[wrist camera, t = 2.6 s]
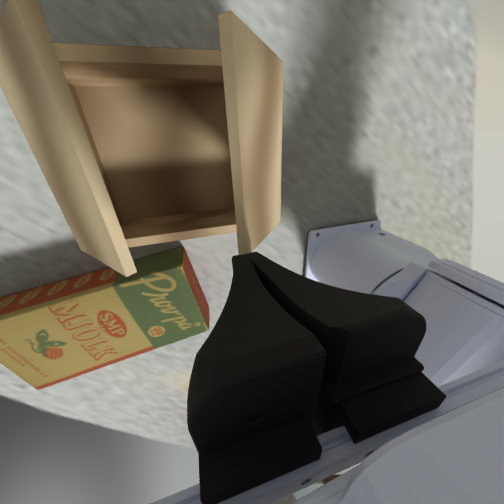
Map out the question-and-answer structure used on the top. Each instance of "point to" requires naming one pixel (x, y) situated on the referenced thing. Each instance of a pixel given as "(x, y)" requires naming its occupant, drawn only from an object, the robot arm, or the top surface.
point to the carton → (100, 318)
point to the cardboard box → (156, 136)
